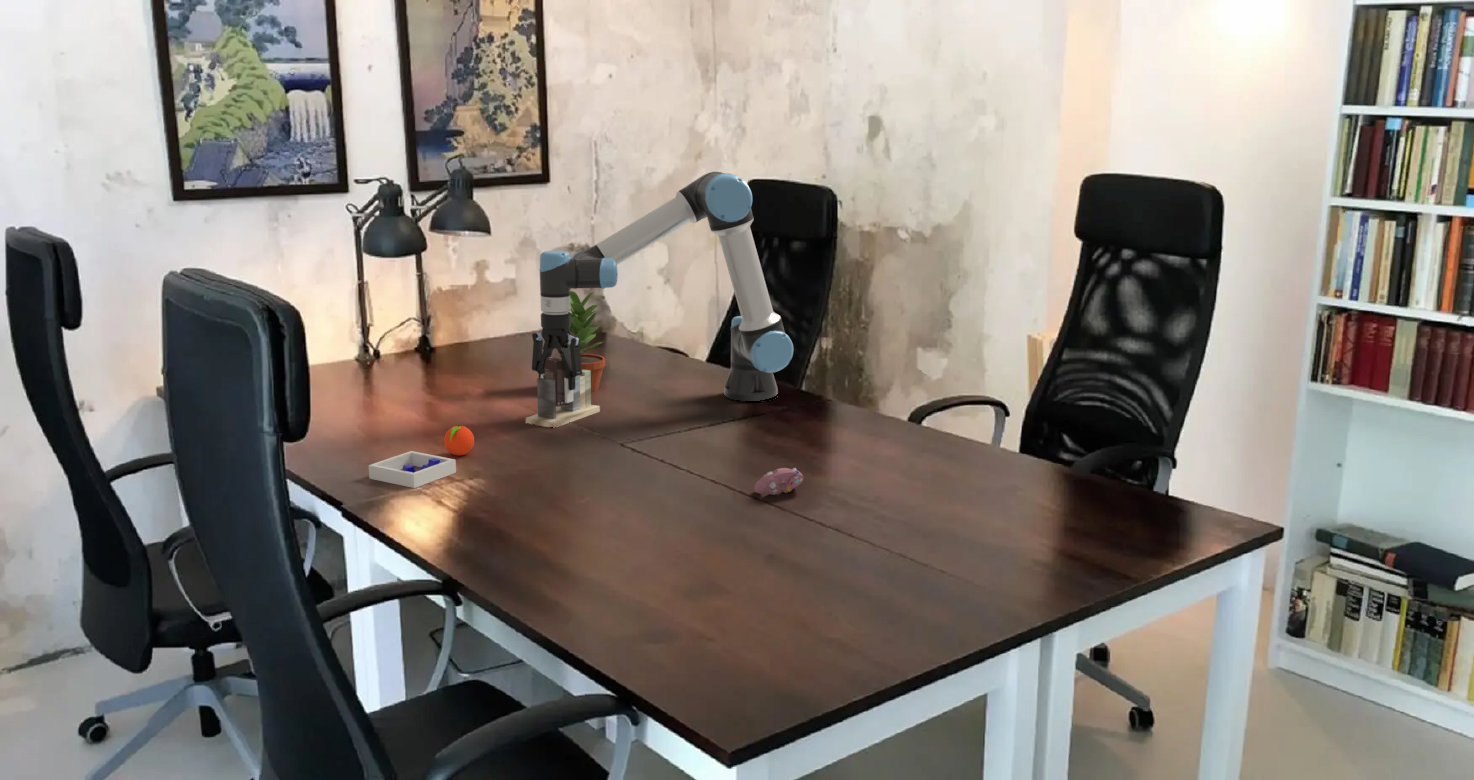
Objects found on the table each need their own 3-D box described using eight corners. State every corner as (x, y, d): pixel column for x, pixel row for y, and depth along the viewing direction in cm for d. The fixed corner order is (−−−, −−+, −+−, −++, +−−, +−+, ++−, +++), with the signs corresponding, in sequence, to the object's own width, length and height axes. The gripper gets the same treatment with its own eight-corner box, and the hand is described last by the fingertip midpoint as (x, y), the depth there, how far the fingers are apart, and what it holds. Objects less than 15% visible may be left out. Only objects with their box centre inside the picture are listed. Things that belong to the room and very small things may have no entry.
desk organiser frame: (456, 472, 265) (455, 459, 264) (414, 488, 254) (413, 474, 253) (411, 463, 271) (411, 450, 270) (369, 478, 260) (368, 465, 259)
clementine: (465, 461, 274) (464, 431, 272) (437, 459, 275) (435, 429, 273) (479, 452, 281) (478, 422, 280) (452, 449, 282) (450, 420, 281)
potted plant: (617, 387, 348) (616, 284, 341) (583, 397, 335) (582, 290, 328) (577, 380, 355) (576, 279, 349) (543, 390, 343) (541, 285, 336)
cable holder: (431, 473, 265) (430, 456, 264) (440, 477, 262) (439, 459, 261) (399, 481, 259) (398, 464, 258) (408, 485, 256) (407, 467, 256)
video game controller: (760, 504, 252) (768, 479, 248) (751, 489, 255) (759, 465, 251) (800, 497, 257) (809, 473, 253) (791, 483, 260) (799, 459, 256)
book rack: (599, 411, 320) (599, 369, 317) (554, 428, 303) (553, 383, 300) (572, 407, 324) (571, 365, 321) (525, 423, 307) (524, 379, 304)
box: (570, 404, 309) (570, 359, 307) (555, 407, 307) (554, 361, 304) (558, 400, 314) (557, 355, 311) (543, 402, 311) (542, 357, 308)
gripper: (515, 310, 306) (517, 398, 311) (578, 318, 297) (579, 408, 302) (533, 306, 313) (535, 392, 318) (596, 313, 303) (597, 402, 309)
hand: (557, 399), depth 310 cm, fingers closed on box, 7 cm apart
